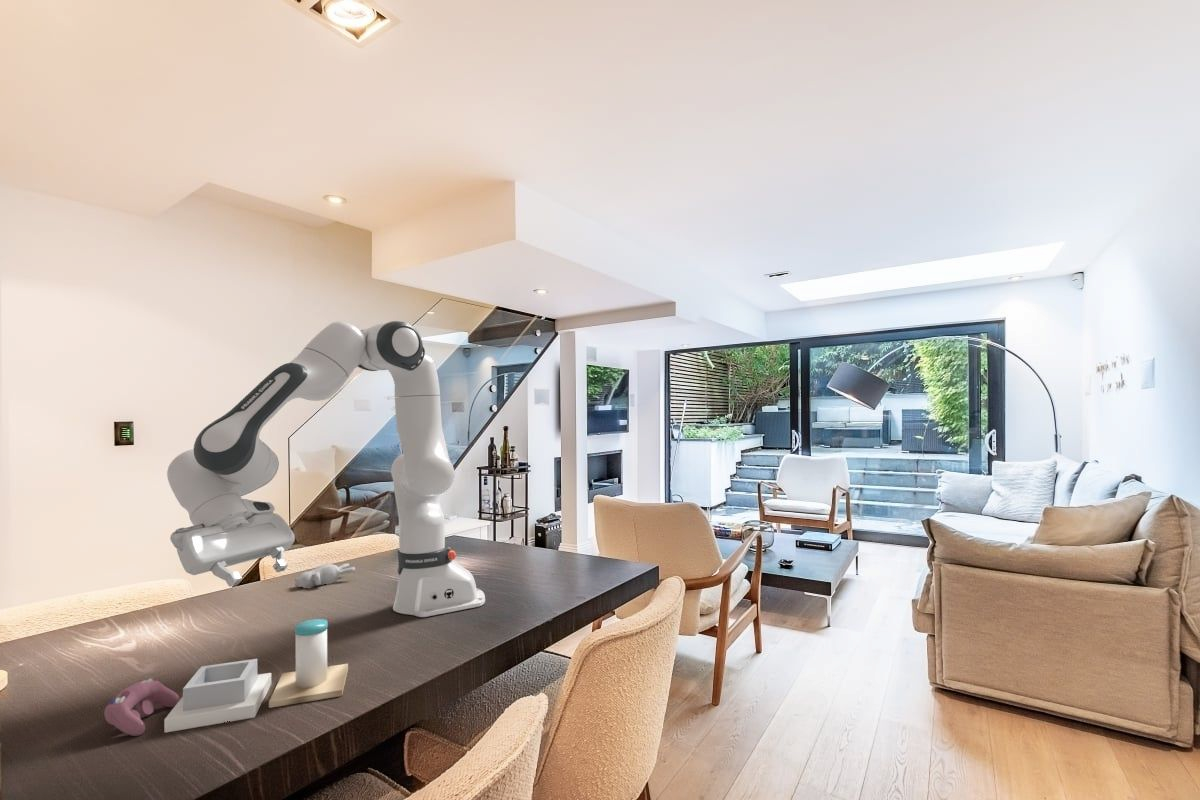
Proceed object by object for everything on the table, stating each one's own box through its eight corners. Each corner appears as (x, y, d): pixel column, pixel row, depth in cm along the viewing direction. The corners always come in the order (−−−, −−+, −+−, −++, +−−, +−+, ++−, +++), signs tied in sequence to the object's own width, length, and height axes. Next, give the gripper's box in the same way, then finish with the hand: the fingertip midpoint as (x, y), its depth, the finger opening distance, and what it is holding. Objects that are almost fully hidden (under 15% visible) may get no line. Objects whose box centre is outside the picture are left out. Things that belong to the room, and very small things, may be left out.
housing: (271, 683, 101) (271, 653, 101) (254, 717, 90) (254, 682, 90) (192, 696, 97) (192, 663, 97) (164, 732, 86) (164, 696, 86)
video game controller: (158, 715, 94) (138, 678, 94) (184, 701, 94) (164, 664, 94) (114, 750, 84) (91, 709, 84) (143, 734, 85) (121, 693, 84)
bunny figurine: (291, 571, 162) (345, 556, 172) (294, 589, 162) (347, 572, 172) (300, 578, 155) (356, 561, 165) (302, 596, 155) (358, 578, 165)
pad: (348, 668, 106) (348, 663, 106) (342, 695, 96) (342, 689, 96) (282, 678, 103) (282, 673, 103) (268, 707, 92) (268, 701, 92)
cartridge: (329, 672, 103) (329, 617, 103) (325, 685, 98) (325, 627, 98) (297, 677, 101) (297, 621, 101) (292, 690, 96) (292, 631, 96)
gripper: (174, 519, 98) (213, 580, 94) (278, 501, 117) (314, 552, 113) (157, 543, 99) (194, 604, 95) (263, 522, 118) (297, 572, 115)
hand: (260, 576), depth 104 cm, fingers open, 8 cm apart
